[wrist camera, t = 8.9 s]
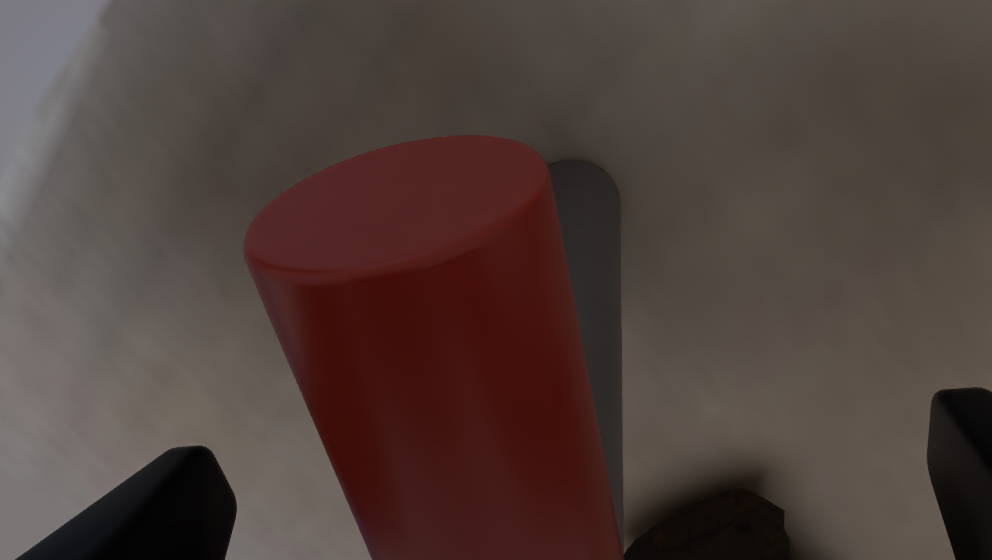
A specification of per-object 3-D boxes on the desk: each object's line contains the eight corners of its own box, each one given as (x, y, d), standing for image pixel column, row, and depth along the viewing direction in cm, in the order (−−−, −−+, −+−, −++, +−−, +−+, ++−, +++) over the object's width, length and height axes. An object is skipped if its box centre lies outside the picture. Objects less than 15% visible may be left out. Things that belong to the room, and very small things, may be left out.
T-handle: (589, -61, 11) (531, 251, 4) (652, 384, 15) (689, 978, 8) (465, -35, 11) (181, 293, 4) (559, 392, 15) (505, 964, 8)
